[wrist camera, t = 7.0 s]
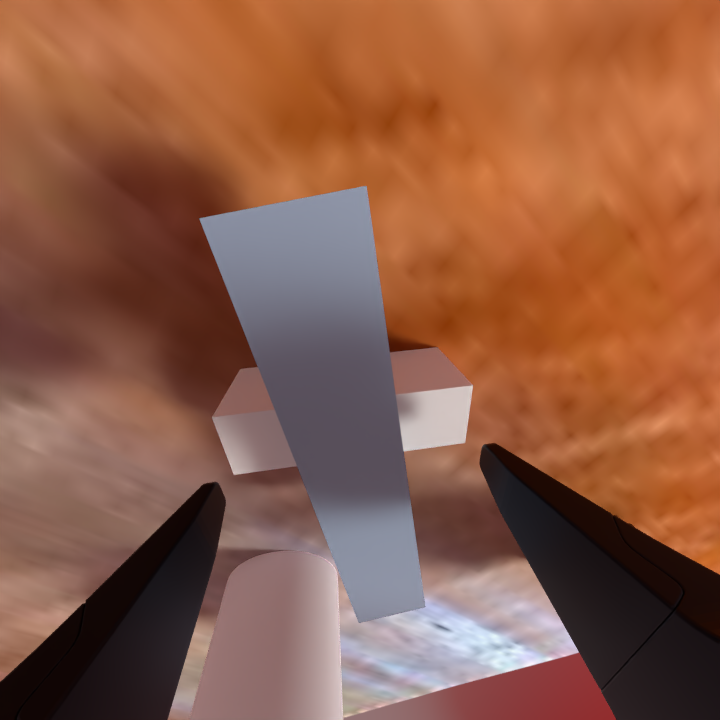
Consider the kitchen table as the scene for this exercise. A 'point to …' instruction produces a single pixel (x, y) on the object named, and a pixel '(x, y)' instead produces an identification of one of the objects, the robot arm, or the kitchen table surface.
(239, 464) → the fulcrum
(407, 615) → the kitchen table surface
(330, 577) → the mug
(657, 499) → the kitchen table surface
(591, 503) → the robot arm
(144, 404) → the kitchen table surface
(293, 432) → the bar
